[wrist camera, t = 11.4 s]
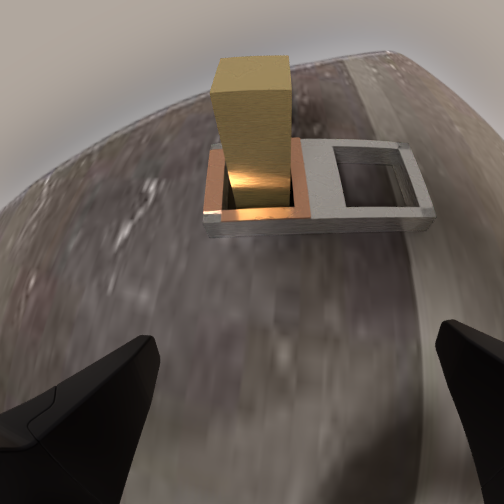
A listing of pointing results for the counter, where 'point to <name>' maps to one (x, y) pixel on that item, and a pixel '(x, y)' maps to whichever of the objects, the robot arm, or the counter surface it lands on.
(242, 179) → the tan block
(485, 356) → the robot arm
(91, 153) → the counter surface
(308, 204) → the divided tray
